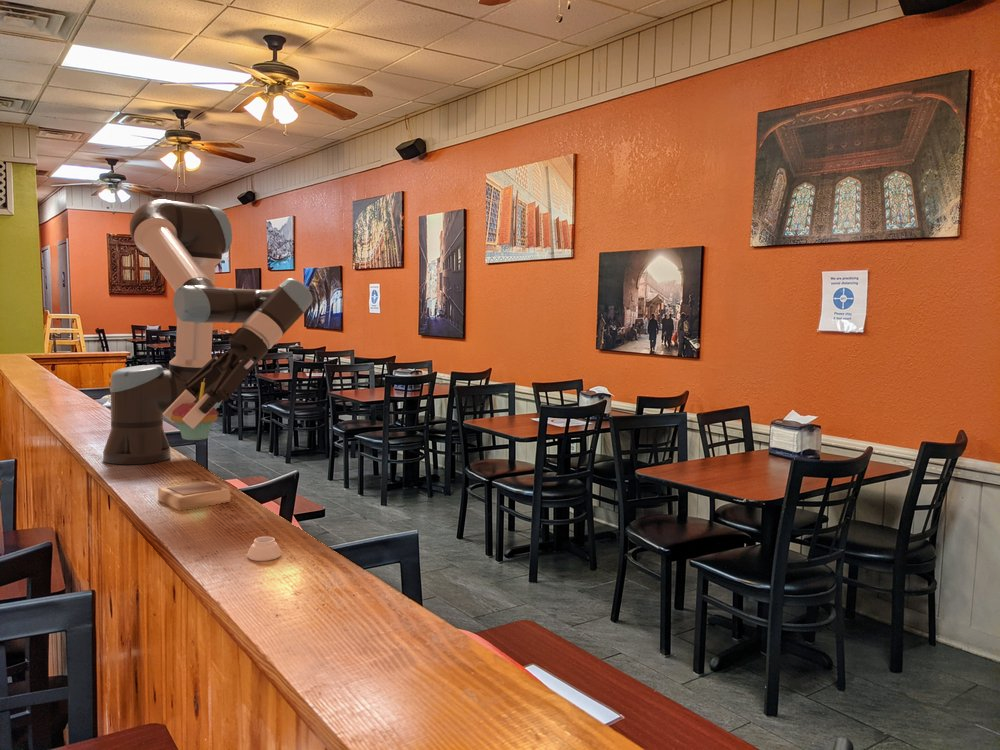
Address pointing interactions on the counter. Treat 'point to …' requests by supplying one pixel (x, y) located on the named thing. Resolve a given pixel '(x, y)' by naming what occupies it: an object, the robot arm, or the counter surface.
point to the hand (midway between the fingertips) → (177, 421)
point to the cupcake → (203, 426)
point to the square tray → (193, 495)
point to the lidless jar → (264, 549)
